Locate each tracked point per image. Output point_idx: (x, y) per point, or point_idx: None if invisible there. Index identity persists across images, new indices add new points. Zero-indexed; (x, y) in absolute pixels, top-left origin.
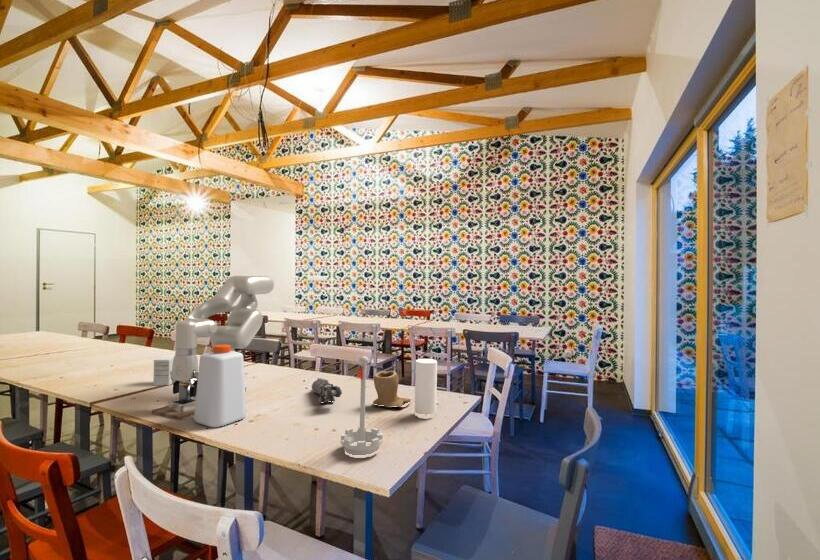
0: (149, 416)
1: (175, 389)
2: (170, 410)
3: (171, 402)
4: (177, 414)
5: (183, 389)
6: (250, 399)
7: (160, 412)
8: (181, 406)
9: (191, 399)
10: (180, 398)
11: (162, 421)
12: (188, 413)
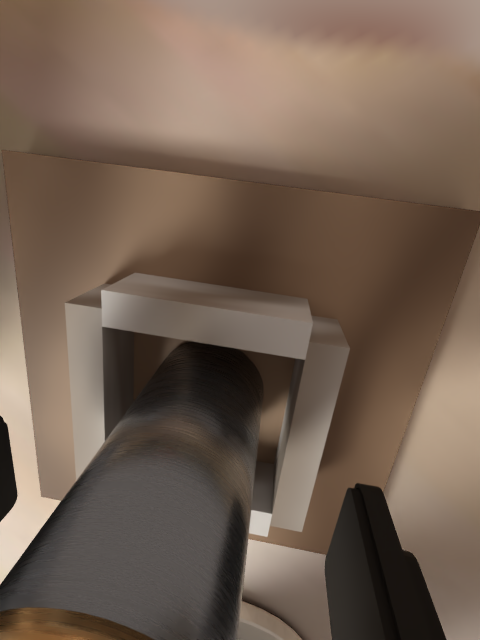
0: (407, 113)
1: (359, 562)
2: (262, 275)
3: (300, 347)
4: (84, 198)
5: (58, 520)
6: None
7: (321, 192)
8: (109, 301)
9: None
10: (176, 401)
11: (131, 41)
12: (24, 263)
